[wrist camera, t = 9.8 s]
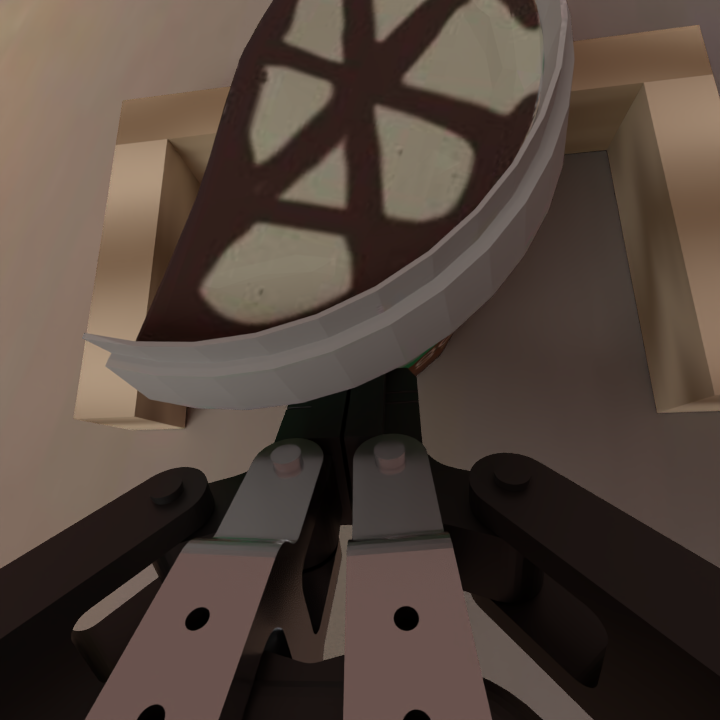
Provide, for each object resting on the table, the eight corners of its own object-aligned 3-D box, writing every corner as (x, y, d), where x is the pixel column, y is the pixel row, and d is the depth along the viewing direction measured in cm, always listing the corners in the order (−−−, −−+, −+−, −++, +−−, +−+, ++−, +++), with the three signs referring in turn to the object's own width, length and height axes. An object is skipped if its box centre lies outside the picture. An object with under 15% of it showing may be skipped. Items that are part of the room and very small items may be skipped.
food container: (454, 491, 15) (513, 508, 5) (280, 439, 16) (64, 373, 6) (531, 170, 17) (665, -217, 8) (377, 146, 19) (328, -213, 9)
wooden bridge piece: (725, 410, 14) (802, 391, 11) (133, 430, 17) (73, 418, 14) (653, 100, 17) (698, 24, 15) (165, 155, 20) (122, 100, 17)
